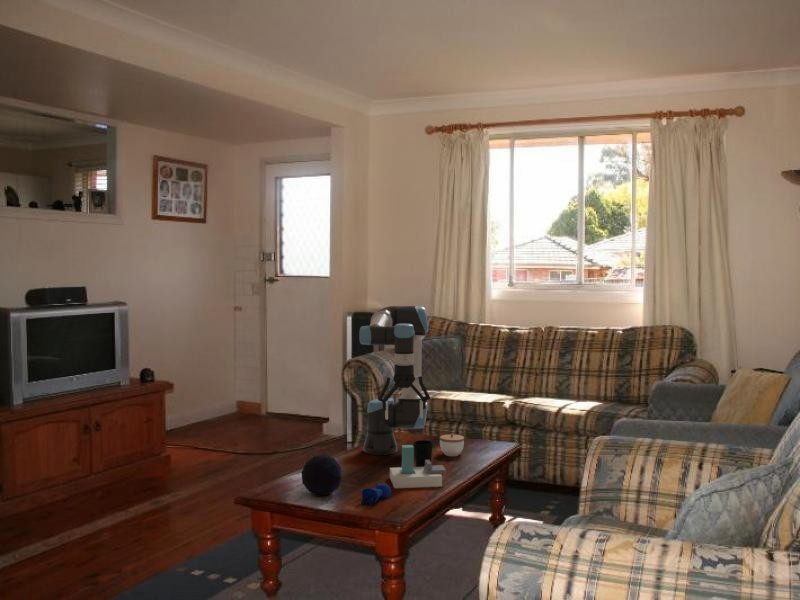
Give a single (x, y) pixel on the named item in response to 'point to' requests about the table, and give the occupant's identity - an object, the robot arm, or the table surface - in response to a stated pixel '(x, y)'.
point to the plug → (407, 459)
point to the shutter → (433, 468)
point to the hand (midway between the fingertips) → (404, 418)
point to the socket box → (414, 478)
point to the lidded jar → (451, 444)
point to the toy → (375, 493)
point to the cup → (422, 452)
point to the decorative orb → (321, 475)
